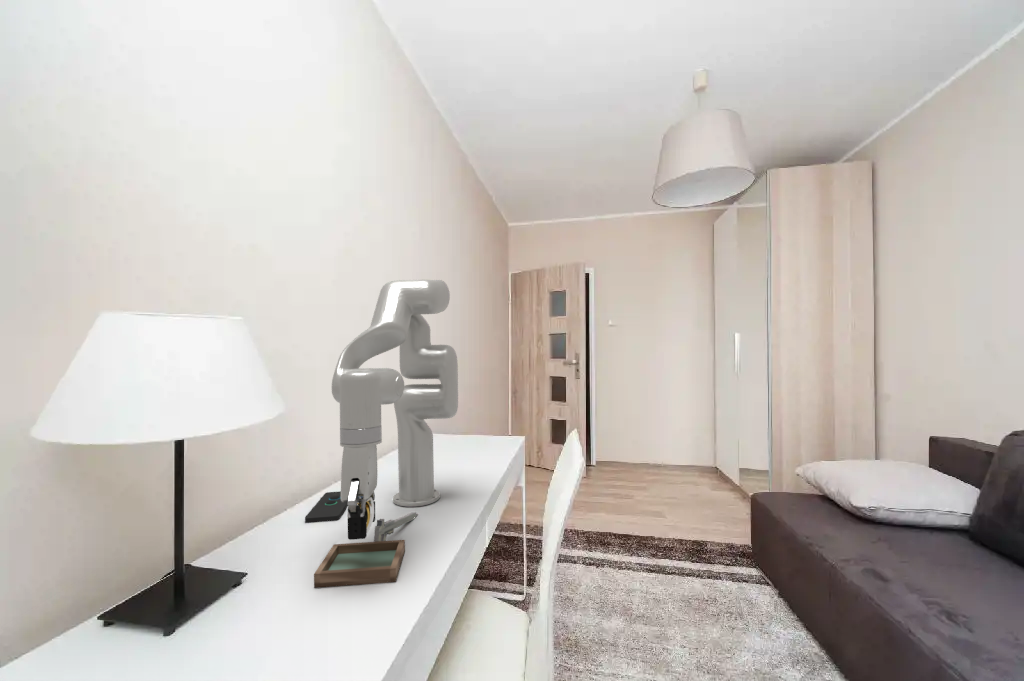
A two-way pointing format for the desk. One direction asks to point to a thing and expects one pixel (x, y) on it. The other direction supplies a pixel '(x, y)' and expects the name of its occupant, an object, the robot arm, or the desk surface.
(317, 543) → the desk surface
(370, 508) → the ring
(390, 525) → the caliper
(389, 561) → the jewellery tray
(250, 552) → the desk surface
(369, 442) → the robot arm
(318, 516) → the smart home device
